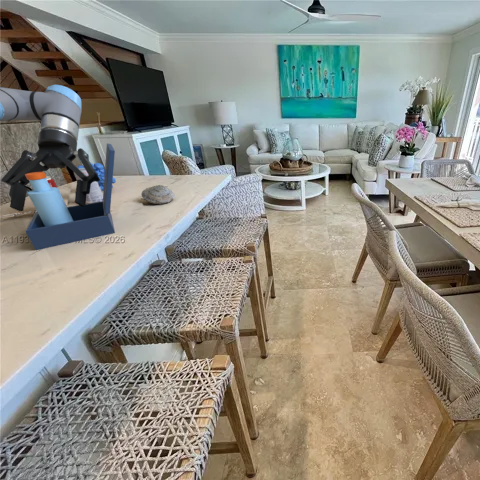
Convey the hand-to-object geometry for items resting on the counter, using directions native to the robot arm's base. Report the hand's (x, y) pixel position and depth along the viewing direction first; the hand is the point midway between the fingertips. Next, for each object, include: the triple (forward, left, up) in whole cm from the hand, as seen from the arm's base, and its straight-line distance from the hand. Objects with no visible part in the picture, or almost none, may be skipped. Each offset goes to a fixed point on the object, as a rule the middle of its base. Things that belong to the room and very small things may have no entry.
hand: (48, 207), depth 67 cm
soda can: (-3, +24, -9) cm, 26 cm away
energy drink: (+7, +31, -9) cm, 33 cm away
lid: (+13, +1, +6) cm, 15 cm away
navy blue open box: (+3, +1, -9) cm, 9 cm away
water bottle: (0, +1, -8) cm, 8 cm away
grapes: (+9, +47, -9) cm, 49 cm away
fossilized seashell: (+26, +19, -9) cm, 34 cm away
